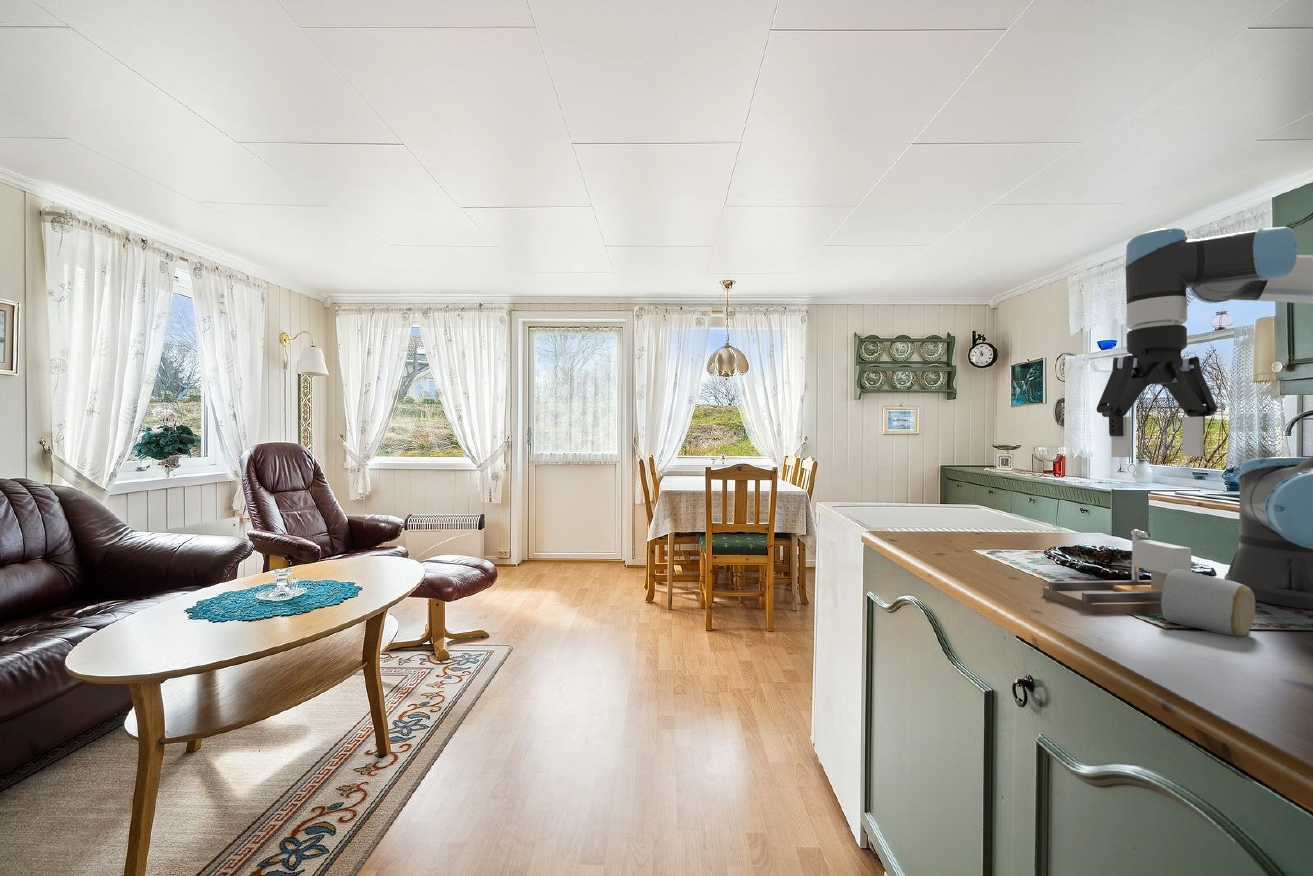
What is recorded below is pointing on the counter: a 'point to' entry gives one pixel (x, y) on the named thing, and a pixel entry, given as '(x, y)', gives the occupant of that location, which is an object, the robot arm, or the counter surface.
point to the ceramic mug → (1207, 603)
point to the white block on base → (1157, 562)
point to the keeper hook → (1135, 536)
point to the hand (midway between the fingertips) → (1157, 456)
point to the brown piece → (1105, 596)
